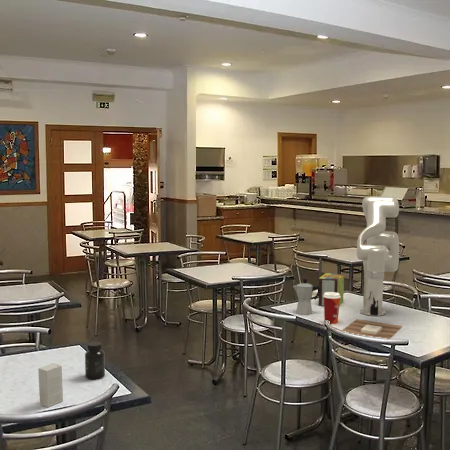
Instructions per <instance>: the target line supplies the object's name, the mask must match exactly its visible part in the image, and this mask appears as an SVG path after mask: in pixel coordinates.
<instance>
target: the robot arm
mask: <svg viewBox="0 0 450 450" xmlns="http://www.w3.org/2000/svg"><path fill="white" fill-rule="evenodd" d="M361 206H362V211H363V214H364V217H365V220H366V227H365V228H364V229H363V230H362V231H361V232H360V234H359V235H358V238H357V241H356V256H357V259H358V260H360V261H362V265H363V303H362V305H363V307H362V308H360V309H359V312H360V314H361V315H366V316H371V317H373V316H374V317H379V316H381V317H382V316H384V315H386V311H385V310H384V309H383V296H384V279H385V272H390V273H391V272H396V271H397V270H398V269H399V264H400V263H399V262H400V258H399V257H400V255H399V254H400V242H399V241H400V239H399V235H398V233H397V232H395V231H386V229H387V227H386V226H387V225H386V223H387V222H386V220H387V219H386V218H393V219H395V218H397V217H398V216H399V213H400V204H399V200H398V198H397V197H396V196H377V195H375V196H373V195H372V196H366V197H364V198H363V199H362V205H361ZM364 242H366V244H364Z"/></svg>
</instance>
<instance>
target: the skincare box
mask: <svg viewBox="0 0 450 450" xmlns="http://www.w3.org/2000/svg"><path fill="white" fill-rule="evenodd" d="M62 368H63V367H62V365H61V364H57V363H54V362H53V363H50V364H47V365H44V366H41V367H39V368H37V369H38V386H39V387H38V389H39V390H38V391H39V404H40V406H43V407H45V408H50V407H53V406H55V405H57V404H59V403H61V402H63V401H64V395H63V390H64V389H63V371H62Z"/></svg>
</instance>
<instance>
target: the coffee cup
mask: <svg viewBox="0 0 450 450" xmlns="http://www.w3.org/2000/svg"><path fill="white" fill-rule="evenodd" d="M323 297H324V306H323V312H324V313H323V315H324V321H325V320H329V321H330V325H335V324H338V323H339V311H340V305H339V302H340V294H339V293H336V292H326V293H324V295H323Z"/></svg>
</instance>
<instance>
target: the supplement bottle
mask: <svg viewBox="0 0 450 450" xmlns="http://www.w3.org/2000/svg"><path fill="white" fill-rule="evenodd" d="M102 348H103V347H102V342H100V341H99V342H98V341H92V342H88V343H87V351H86V352H85V353H84V368H85V369H84V371H85V372H84V374H85V375H84V376H85V378H86V379H87V380H91V381H92V380H94V381H96V380H101V379H103V378H104V377H105V375H106V361H105V359H106V358H105V354H106V353H105V351H104V350H102Z"/></svg>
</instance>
